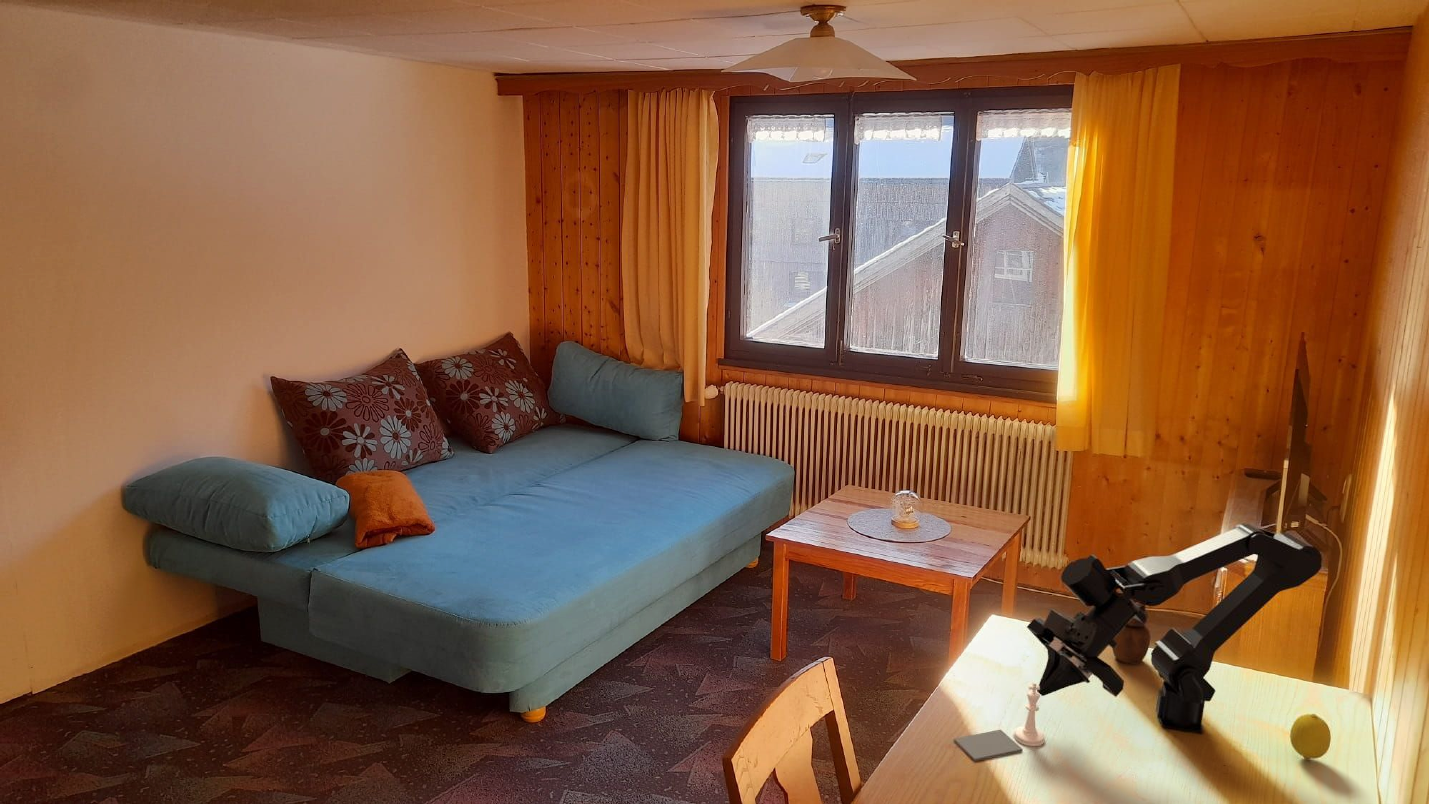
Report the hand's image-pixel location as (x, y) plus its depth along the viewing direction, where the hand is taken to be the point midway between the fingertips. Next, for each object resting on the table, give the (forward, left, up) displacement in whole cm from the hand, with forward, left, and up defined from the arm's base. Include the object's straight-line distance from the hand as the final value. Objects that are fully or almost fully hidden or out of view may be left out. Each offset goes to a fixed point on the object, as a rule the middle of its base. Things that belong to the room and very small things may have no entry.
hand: (1039, 693), depth 165 cm
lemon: (-42, -6, -8) cm, 43 cm away
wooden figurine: (-18, -33, -8) cm, 39 cm away
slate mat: (+8, +5, -8) cm, 12 cm away
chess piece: (+1, +1, -8) cm, 8 cm away
